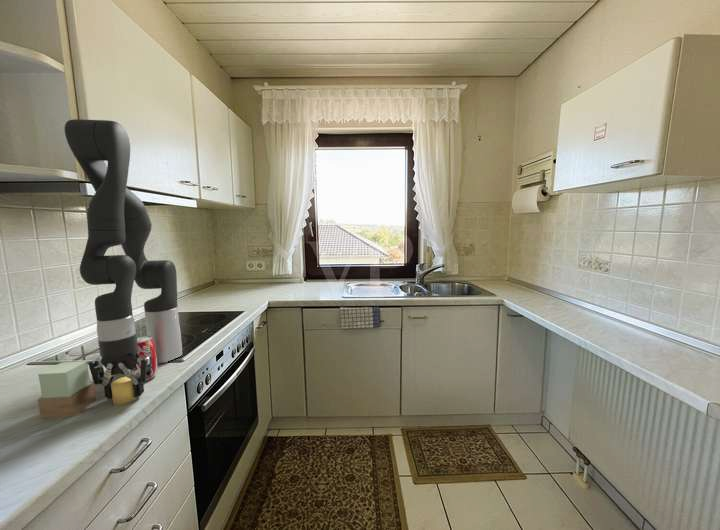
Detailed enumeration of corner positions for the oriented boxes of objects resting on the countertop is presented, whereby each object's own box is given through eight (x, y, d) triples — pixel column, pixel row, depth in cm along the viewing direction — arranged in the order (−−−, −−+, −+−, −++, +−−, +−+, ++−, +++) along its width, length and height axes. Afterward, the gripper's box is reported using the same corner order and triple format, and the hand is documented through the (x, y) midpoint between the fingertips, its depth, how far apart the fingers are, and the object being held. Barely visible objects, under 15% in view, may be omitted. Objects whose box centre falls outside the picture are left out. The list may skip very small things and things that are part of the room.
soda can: (163, 372, 93) (159, 334, 91) (148, 384, 86) (143, 343, 84) (139, 372, 93) (135, 335, 91) (122, 384, 86) (117, 344, 84)
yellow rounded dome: (122, 394, 81) (119, 376, 80) (141, 393, 81) (139, 375, 81) (108, 405, 76) (105, 386, 75) (129, 404, 76) (127, 385, 76)
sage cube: (65, 384, 77) (61, 362, 76) (90, 383, 77) (87, 361, 76) (42, 398, 71) (38, 374, 70) (69, 396, 71) (66, 372, 70)
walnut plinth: (67, 402, 78) (64, 383, 77) (96, 400, 78) (93, 382, 78) (41, 419, 71) (37, 399, 70) (73, 417, 72) (70, 397, 71)
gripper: (156, 328, 81) (162, 387, 83) (98, 330, 79) (106, 390, 82) (137, 338, 73) (145, 403, 75) (74, 341, 72) (83, 407, 74)
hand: (125, 396), depth 78 cm, fingers open, 6 cm apart
